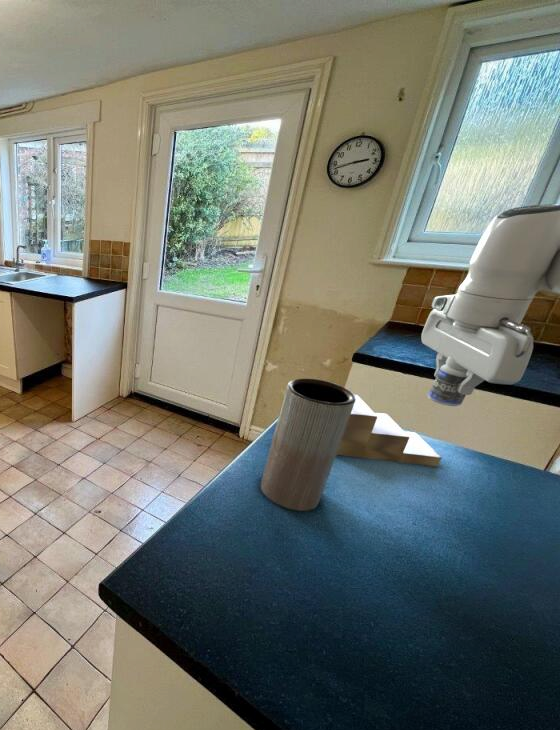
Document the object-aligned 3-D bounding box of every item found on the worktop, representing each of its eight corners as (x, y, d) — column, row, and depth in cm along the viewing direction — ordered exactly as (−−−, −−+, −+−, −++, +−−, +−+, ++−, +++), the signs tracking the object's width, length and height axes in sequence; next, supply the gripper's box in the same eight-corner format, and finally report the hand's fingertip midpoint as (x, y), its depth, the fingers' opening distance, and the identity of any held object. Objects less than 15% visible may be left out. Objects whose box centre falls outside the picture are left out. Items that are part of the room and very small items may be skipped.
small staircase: (410, 443, 96) (429, 401, 91) (436, 469, 87) (458, 424, 82) (310, 432, 100) (323, 391, 96) (325, 455, 92) (340, 412, 87)
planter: (308, 483, 83) (342, 381, 73) (325, 517, 74) (367, 407, 65) (255, 475, 85) (281, 375, 76) (265, 508, 77) (296, 400, 67)
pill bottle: (421, 396, 77) (439, 355, 74) (438, 393, 79) (457, 352, 75) (449, 408, 73) (470, 365, 70) (467, 404, 75) (489, 361, 71)
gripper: (563, 331, 59) (516, 415, 65) (468, 297, 77) (437, 365, 83) (510, 328, 60) (468, 411, 66) (428, 295, 78) (401, 362, 84)
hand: (451, 385), depth 75 cm, fingers closed on pill bottle, 5 cm apart
